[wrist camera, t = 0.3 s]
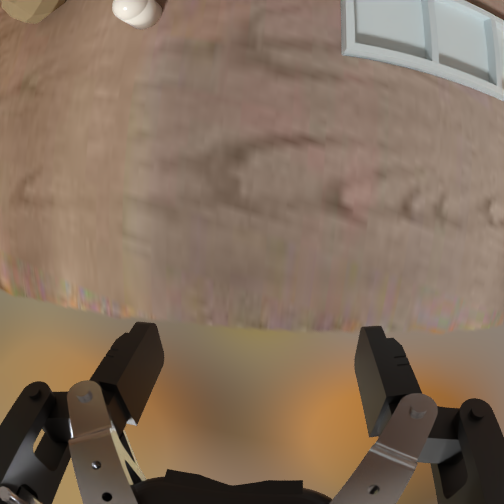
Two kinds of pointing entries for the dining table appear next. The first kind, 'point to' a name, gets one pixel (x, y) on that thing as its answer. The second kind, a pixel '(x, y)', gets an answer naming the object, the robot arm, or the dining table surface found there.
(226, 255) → the dining table surface
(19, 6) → the low-poly potato
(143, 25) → the cream egg
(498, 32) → the white divided tray
